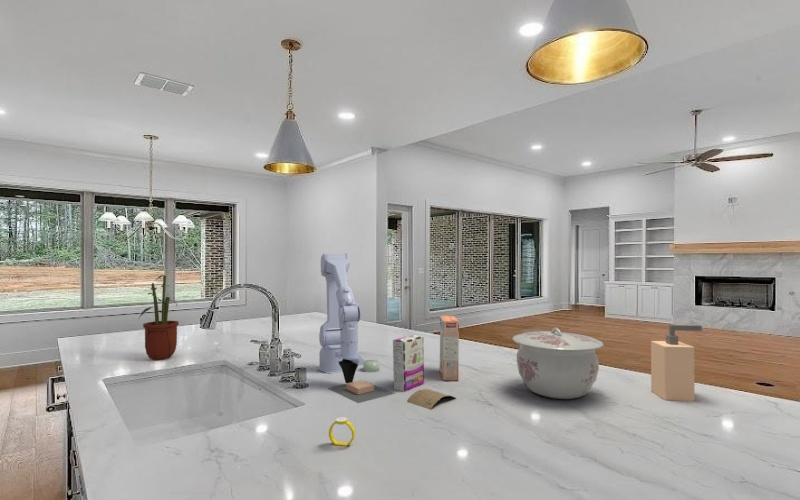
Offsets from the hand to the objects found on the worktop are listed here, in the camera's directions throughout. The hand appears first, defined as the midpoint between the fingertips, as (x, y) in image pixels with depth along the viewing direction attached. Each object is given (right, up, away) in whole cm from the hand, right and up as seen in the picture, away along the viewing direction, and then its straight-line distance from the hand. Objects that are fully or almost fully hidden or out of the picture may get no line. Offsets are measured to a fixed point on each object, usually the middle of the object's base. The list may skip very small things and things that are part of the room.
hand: (349, 382), depth 144 cm
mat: (+4, -1, -5) cm, 7 cm away
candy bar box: (+20, -2, 0) cm, 20 cm away
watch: (+4, -1, -44) cm, 44 cm away
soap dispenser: (+104, -2, -9) cm, 104 cm away
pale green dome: (+6, -2, +19) cm, 20 cm away
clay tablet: (+26, -2, -13) cm, 30 cm away
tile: (+2, 0, -2) cm, 3 cm away
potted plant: (-86, -2, +38) cm, 94 cm away
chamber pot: (+67, -2, -6) cm, 67 cm away
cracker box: (+35, -2, +13) cm, 37 cm away
